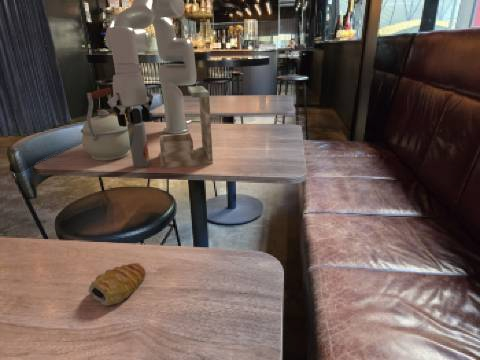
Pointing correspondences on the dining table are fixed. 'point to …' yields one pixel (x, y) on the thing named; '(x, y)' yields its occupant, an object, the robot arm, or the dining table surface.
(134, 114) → the lotion bottle
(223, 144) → the dining table surface
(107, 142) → the kettle
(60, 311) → the dining table surface
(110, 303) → the pastry
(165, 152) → the bottle holder
